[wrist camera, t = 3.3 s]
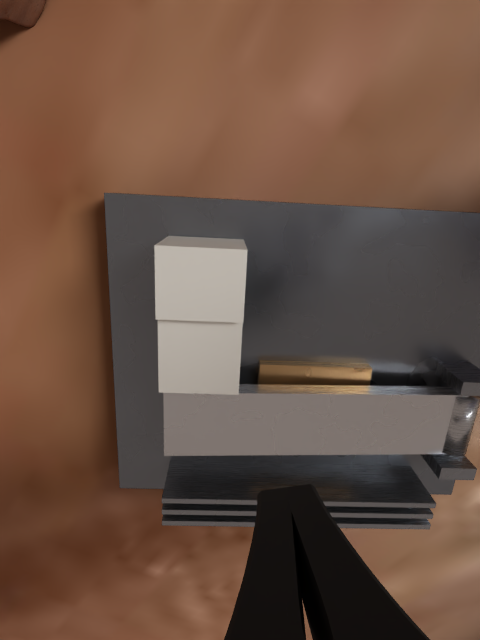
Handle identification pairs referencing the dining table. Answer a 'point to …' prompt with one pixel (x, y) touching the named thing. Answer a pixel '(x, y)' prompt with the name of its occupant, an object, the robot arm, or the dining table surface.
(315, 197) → the dining table surface
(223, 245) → the block
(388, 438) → the strap
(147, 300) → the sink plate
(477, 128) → the dining table surface
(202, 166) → the dining table surface
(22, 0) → the pottery mug
